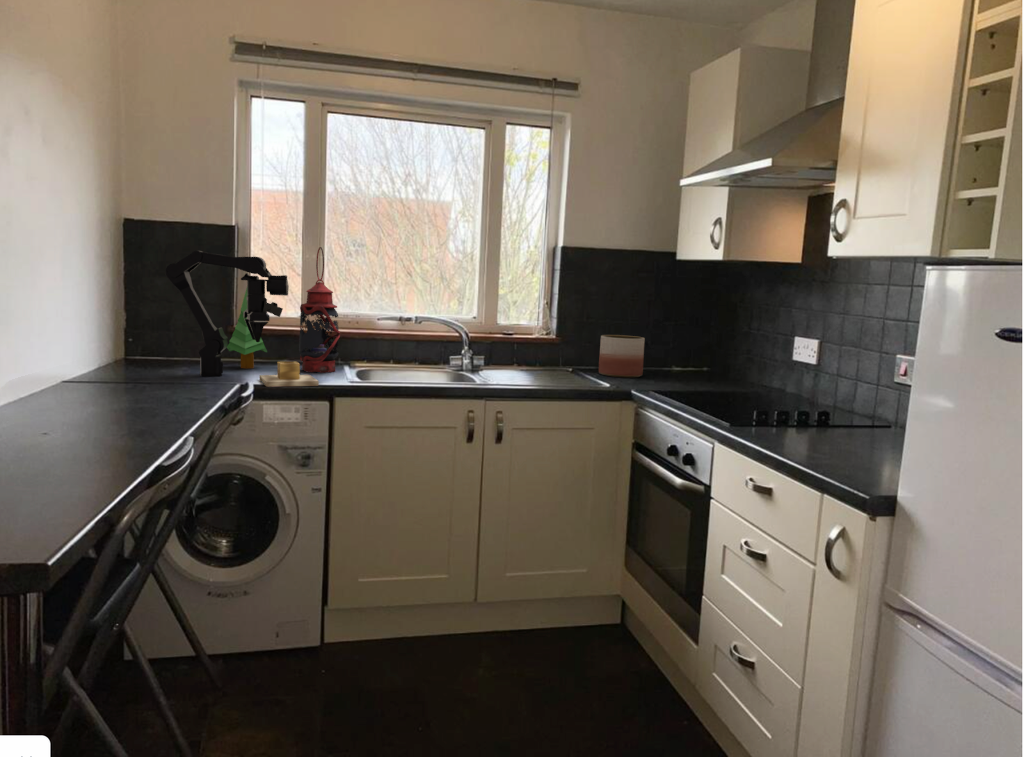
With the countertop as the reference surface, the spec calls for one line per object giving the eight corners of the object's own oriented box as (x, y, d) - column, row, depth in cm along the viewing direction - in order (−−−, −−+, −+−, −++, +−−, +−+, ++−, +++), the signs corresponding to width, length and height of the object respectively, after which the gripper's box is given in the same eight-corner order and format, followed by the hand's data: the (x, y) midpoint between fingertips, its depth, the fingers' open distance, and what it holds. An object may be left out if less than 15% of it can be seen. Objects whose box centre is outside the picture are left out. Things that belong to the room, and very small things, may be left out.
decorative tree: (218, 366, 282) (218, 284, 278) (259, 364, 292) (259, 285, 289) (234, 370, 272) (233, 285, 268) (275, 368, 283) (276, 286, 279)
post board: (266, 386, 239) (266, 369, 238) (259, 379, 253) (259, 363, 252) (318, 385, 245) (318, 368, 245) (308, 379, 260) (309, 362, 259)
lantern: (295, 368, 287) (296, 246, 281) (334, 368, 293) (336, 248, 287) (302, 373, 273) (304, 245, 267) (343, 373, 279) (346, 247, 273)
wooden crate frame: (280, 379, 245) (280, 363, 244) (277, 376, 250) (277, 361, 250) (299, 379, 248) (299, 363, 247) (296, 376, 253) (296, 361, 252)
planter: (642, 374, 319) (645, 336, 317) (642, 379, 301) (644, 339, 299) (599, 371, 322) (601, 334, 320) (596, 376, 304) (599, 336, 302)
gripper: (285, 296, 252) (285, 343, 254) (276, 294, 269) (276, 338, 271) (249, 295, 248) (249, 343, 250) (243, 293, 264) (243, 338, 266)
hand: (256, 340), depth 259 cm, fingers open, 9 cm apart
